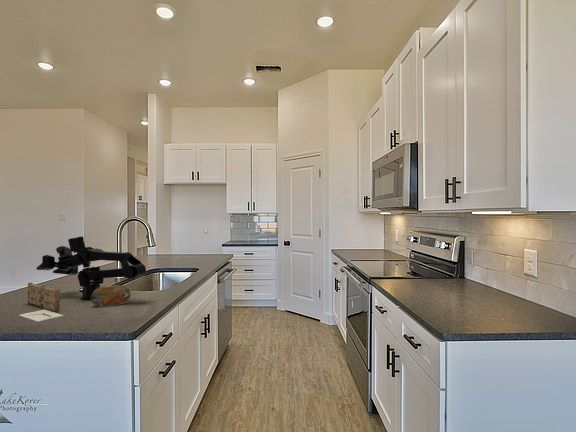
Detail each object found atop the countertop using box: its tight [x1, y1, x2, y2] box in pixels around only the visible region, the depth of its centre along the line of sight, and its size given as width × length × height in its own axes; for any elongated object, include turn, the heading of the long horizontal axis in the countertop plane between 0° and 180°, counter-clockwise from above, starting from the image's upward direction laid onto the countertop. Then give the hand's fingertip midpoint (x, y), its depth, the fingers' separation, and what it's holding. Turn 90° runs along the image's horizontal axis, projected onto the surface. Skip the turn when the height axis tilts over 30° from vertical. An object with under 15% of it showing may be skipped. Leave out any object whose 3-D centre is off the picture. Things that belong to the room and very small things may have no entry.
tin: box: [91, 284, 131, 308], centre depth 150 cm, size 15×3×8 cm, turn 117°
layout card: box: [18, 309, 64, 323], centre depth 133 cm, size 14×9×1 cm, turn 60°
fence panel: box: [27, 282, 42, 307], centre depth 147 cm, size 11×2×8 cm, turn 60°
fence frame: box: [40, 284, 61, 313], centre depth 141 cm, size 12×2×9 cm, turn 60°
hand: (45, 270), depth 164 cm, fingers open, 9 cm apart
